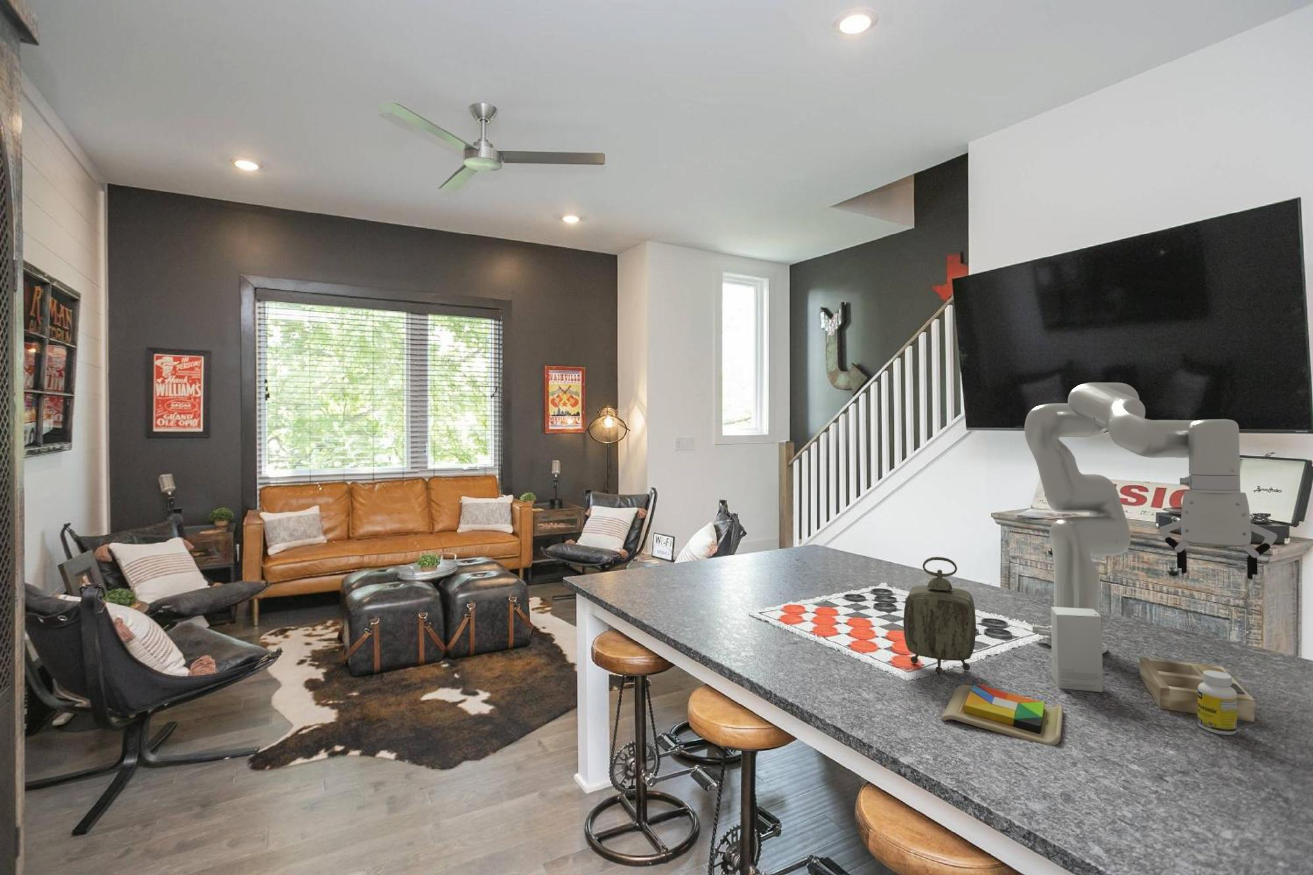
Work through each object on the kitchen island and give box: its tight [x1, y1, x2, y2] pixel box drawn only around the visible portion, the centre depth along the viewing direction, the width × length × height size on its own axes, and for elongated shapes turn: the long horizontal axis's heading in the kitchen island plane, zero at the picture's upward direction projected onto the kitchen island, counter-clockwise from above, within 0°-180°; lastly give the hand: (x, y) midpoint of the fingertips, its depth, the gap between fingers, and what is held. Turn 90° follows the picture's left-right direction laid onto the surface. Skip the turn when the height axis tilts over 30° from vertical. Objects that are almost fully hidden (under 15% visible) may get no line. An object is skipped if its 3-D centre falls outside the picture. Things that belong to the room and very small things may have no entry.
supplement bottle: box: [1197, 670, 1238, 736], centre depth 121 cm, size 5×5×10 cm
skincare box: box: [1050, 606, 1104, 693], centre depth 141 cm, size 8×7×16 cm
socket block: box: [1139, 656, 1256, 723], centre depth 135 cm, size 14×19×4 cm
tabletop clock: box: [902, 556, 977, 675], centre depth 150 cm, size 14×9×25 cm, turn 65°
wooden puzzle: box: [941, 683, 1064, 746], centre depth 127 cm, size 18×19×4 cm
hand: (1216, 575), depth 129 cm, fingers open, 9 cm apart
